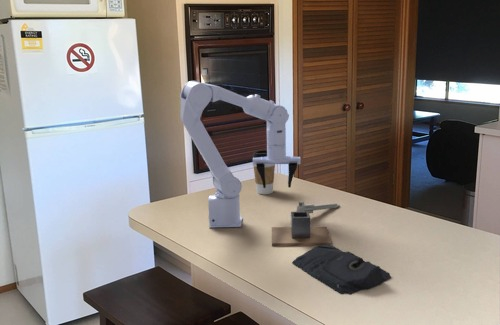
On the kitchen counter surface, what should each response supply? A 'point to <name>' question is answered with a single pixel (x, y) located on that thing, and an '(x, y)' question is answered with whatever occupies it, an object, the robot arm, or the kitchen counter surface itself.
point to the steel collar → (300, 224)
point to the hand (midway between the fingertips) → (276, 186)
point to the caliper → (314, 207)
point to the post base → (284, 238)
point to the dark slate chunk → (340, 269)
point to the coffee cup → (268, 174)
